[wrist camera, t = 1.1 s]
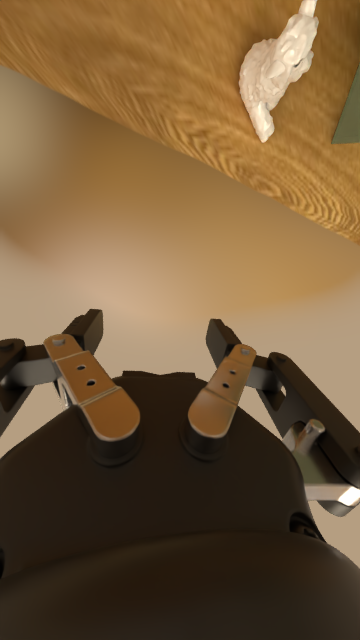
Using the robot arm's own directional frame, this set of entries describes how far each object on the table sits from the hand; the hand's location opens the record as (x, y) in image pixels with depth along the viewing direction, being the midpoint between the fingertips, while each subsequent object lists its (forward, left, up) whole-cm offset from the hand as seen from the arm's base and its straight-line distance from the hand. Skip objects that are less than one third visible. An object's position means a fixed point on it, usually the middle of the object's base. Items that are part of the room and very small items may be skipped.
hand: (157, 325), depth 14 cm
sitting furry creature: (-15, +16, -33) cm, 39 cm away
